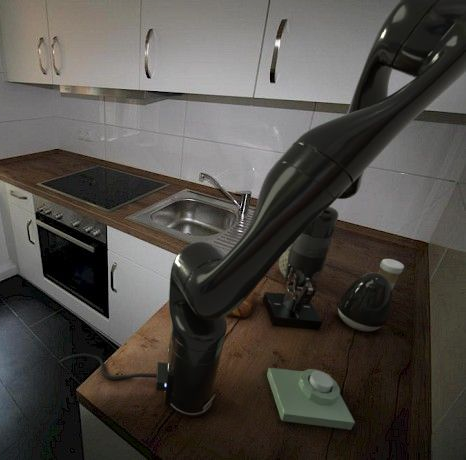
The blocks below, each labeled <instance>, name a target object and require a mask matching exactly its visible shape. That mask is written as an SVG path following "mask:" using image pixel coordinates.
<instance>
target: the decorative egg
mask: <svg viewBox="0 0 466 460" xmlns="http://www.w3.org/2000/svg"><path fill="white" fill-rule="evenodd" d="M290 248H291V246H290V247H289V248H288V249H287V250H286V251H285V252H284V253H283V254H282V255H281V257H280V258H279V259H278V267H279V270H280V271H279V272H280V273H281V274H282V276H283V277H284V278H285V276H286V269H287V263H288V261H287V259H288V255H289V252H290ZM326 261H327V258H326V259H325V262H324V265H323V268H322V270H321V271H319V272H316V273H314V274H313V279H312V282H311V283H313V282H315V281H316V280H317V279H319V278H320V276H321V275H322V274H323V272H324V270H325V267H326Z"/></svg>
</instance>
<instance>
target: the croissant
mask: <svg viewBox="0 0 466 460" xmlns="http://www.w3.org/2000/svg"><path fill="white" fill-rule="evenodd" d="M255 305H256V299H255V298H254V297H253V295H252V293H250V295H249V296H248V297H247V298H246V299H245V300H244V302H243V303H242V304H241V305H240V306H238V307H237V308H236V309H235V310H234V311H233V312H231V313H230V314H228V315H227V317H240V318H247V317H249V316H250V315H251V314H252V311H253V310H252V307H255Z"/></svg>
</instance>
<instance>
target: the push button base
mask: <svg viewBox="0 0 466 460" xmlns="http://www.w3.org/2000/svg"><path fill="white" fill-rule="evenodd" d="M314 371H321V370H319V369H314V368H307V369H305V370H303V371H302V370H292V369H286V368H285V369H284V368H275V367H268V369H267V371H266V376H267V380H268V383H269V387H270V389H271V392H272V395H273V399H274V401H275V406H276V408H277V411H278V414H279V418H280V420H281V421H282V422H287V423H288V422H289V423H294V424H295V423H296V424H304V425H312V426H318V427H325V428H326V427H327V428H328V427H329V428H333V429H342V430H348V431H349V430H350V431H351V430H352V429H353V427H354V425H355V424H356V422H355V420H354V418H353V415H352V414H351V412H350V409H349V408H348V406H347V405H346V402H345V401H344V398H343V397H342V395H341V393H340V392H341V388H340V386H339V385H338V383H337V381H336V380H335V379H334V378H333V377H332V376H331V374H329V373H326V374H327V375H328V376H330V378H331V379H332V381H333V385H332V387H331V389H330V391H329V392H328V393H321V392H319V391H317V390H315V389H314V388H313V387H312V386H311V385H310V383H309V379H310V376H311V374H312V372H314ZM321 372H323V371H321Z"/></svg>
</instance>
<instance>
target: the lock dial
mask: <svg viewBox="0 0 466 460" xmlns="http://www.w3.org/2000/svg"><path fill="white" fill-rule="evenodd" d="M297 288H303V287H298V286H297ZM286 289H287V291H286V290H285V292H286V294H285V293H284V294H285V297H284V301H283V305H284V307H286V308H287V309H289V310H290V307H291V304H292V300H293V297H294V291H293V285H290V286H288V288H287V287H286ZM299 294H300V293H298V295H299ZM302 306H303V304H302ZM301 309H302V307H301Z"/></svg>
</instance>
